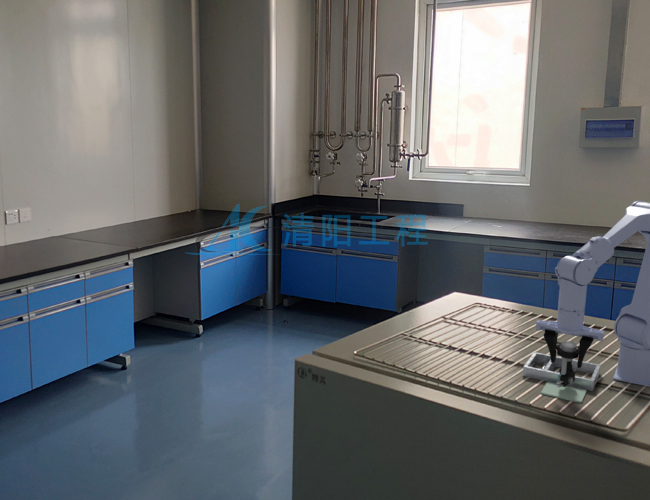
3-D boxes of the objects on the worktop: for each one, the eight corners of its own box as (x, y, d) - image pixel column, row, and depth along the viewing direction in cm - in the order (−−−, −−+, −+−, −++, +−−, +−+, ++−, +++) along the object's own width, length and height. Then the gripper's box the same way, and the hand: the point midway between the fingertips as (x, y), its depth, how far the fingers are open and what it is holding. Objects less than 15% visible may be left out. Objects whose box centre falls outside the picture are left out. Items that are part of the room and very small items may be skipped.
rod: (543, 363, 159) (547, 368, 159) (536, 374, 152) (540, 379, 152) (547, 360, 158) (552, 364, 158) (540, 370, 152) (545, 375, 151)
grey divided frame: (599, 374, 154) (600, 364, 153) (592, 390, 144) (593, 381, 143) (533, 360, 162) (534, 352, 161) (522, 376, 152) (523, 366, 152)
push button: (568, 393, 140) (572, 353, 137) (546, 385, 143) (549, 346, 141) (581, 382, 144) (585, 344, 141) (559, 375, 148) (563, 337, 145)
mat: (586, 391, 144) (586, 390, 143) (581, 403, 138) (581, 401, 138) (547, 383, 148) (547, 381, 148) (540, 393, 142) (540, 392, 142)
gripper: (534, 307, 139) (530, 363, 142) (603, 318, 131) (597, 376, 134) (541, 300, 145) (537, 353, 148) (607, 310, 137) (601, 365, 140)
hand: (566, 363), depth 141 cm, fingers closed on push button, 5 cm apart
